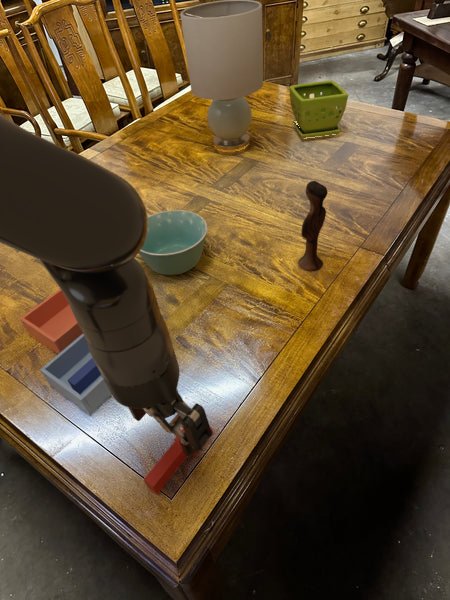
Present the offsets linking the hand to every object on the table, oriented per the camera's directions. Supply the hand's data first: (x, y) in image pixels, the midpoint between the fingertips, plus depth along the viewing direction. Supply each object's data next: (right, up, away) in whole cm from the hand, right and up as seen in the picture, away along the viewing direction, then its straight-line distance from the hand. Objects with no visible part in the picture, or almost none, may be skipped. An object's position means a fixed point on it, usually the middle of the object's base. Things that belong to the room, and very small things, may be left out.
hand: (166, 431), depth 53 cm
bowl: (-3, +25, +37) cm, 45 cm away
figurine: (+25, +24, +33) cm, 48 cm away
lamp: (+10, +63, +75) cm, 98 cm away
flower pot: (+35, +68, +77) cm, 109 cm away
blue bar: (-13, +5, +18) cm, 23 cm away
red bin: (-21, +13, +27) cm, 36 cm away
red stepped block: (+1, -6, +6) cm, 8 cm away
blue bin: (-13, +5, +18) cm, 23 cm away
